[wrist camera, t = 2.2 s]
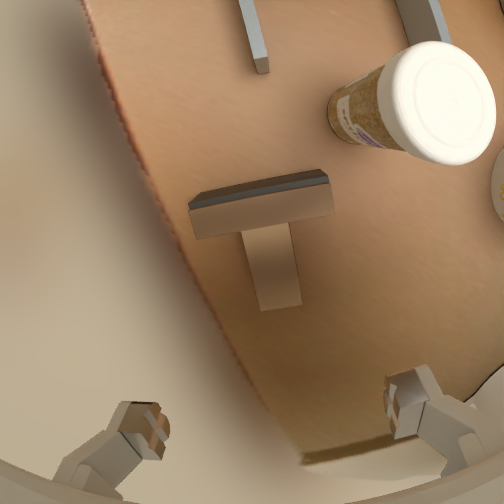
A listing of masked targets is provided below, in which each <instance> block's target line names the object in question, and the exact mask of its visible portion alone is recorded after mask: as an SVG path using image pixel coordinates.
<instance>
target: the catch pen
mask: <svg viewBox="0 0 504 504" xmlns="http://www.w3.org/2000/svg"><path fill="white" fill-rule="evenodd" d="M395 1H396V4H397V7H398V10H399V13H400V16H401V19H402V22H403V25H404V28H405V32H406V35H407V38H408V42H409V45H410V47H411V46H413V45H415V44H418V43H421V42H426V41H440V42H445V43H448V44H451V45H452V42H451V38H450V35H449V32H448V28H447V25H446V22H445V19H444V16H443V13H442V10H441V7H440V5H439V2H438V0H395ZM239 4H240V8H241V11H242V15H243V19H244V22H245V26H246V30H247V34H248V38H249V42H250V46H251V50H252V54H253V58H254V61H255V64H256V68H257V71H258V74H263V73H268V72H269V61H268V54H267V50H266V47H265V43H264V39H263V35H262V31H261V28H260V24H259V20H258V17H257V13H256V9H255V6H254V2H253V0H239Z"/></svg>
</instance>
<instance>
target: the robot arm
mask: <svg viewBox="0 0 504 504" xmlns="http://www.w3.org/2000/svg"><path fill="white" fill-rule="evenodd" d="M384 383H385V386H386V389H385V390H384V396H383V399H384V407H385V411H386V415H387V416H388V417H390V418H391V420H390V428H391V431H392V434H393V437H394V439H398V438H402V437H406V436H410V435H414V434H417V435H418V436H419V437H421V438H422V439H423V440H424V441H426V442H427V443H428V444H429V445H431V446H432V447H433V448H434V449H436V450H437V451H438V452H440V453H441V454H442V455H443V456H445V457H446V458H447V459H448V462H447V464H446V466H445V468H444V469H443V471H442V473H441V478H439V479H437V480H434V481H431V482H428V483H425V484H422V485H419V486H416V487H413V488H409V489H406V490H402V491H399V492H395V493H392V494H387V495H384V496H380V497H375V498H371V499H367V500H362V501H357V502H352V503H346V504H504V366H503V367H501V368H500V369H499V370H498V371H497V372H496V373H494V374H493V375H492V376H491V377H490V378H489V379H488V380H487V381H486V382H485V383H484V385H483V386H482V387H481V388H480V389H479V390H478V391H477V393H476V394H475V395H474V396H473V397H471V398H470V399H469V400H467V401H466V402H465V403H463V402H461V401H459V400H457V399H455V398H453V397H452V396H450V395H448V394H447V395H443V393H442V391H441V389H440V387H439V385H438V383H437V381H436V379H435V377H434V376H433V374H432V372H431V370H430V368H429V366H428V365H426V364H424V365H421V366H418V367H414V368H410V369H407V370H403V371H399V372H396V373H392V374H388V375H386V376H385V382H384ZM160 411H161V407H160V406H159V404H158V403H156V402H137V401H121V402H120V403H119V405H118V406H117V408H116V410H115V412H114V414H113V417H112V419H111V421H110V423H109V425H108V427H107V429H106V430H103V431H101V432H100V433H98V434H97V435H95V436H94V437H93V438H91V439H90V440H89V441H87V442H86V443H84V444H83V445H82V446H80V447H79V448H77V449H76V450H74V451H73V452H72V453H70V454H69V455H67V456H66V457H64V458H63V460H62V462H61V464H60V466H59V468H58V470H57V472H56V474H55V476H54V478H53V480H49V479H46V478H43V477H41V476H38V475H36V474H33V473H31V472H28V471H26V470H24V469H21V468H19V467H16V466H14V465H12V464H10V463H8V462H6V461H4V460H1V459H0V504H139V503H133V502H128V501H123V497H122V495H121V494H119V493H118V492H117V491H116V490H115V488H116V487H117V486H118V485H119V484H120V483H121V482H122V481H123V480H124V479H125V478H126V477H127V476H128V474H130V472H132V471H133V470H134V469H135V467H137V465H138V464H139V463H140V462H141V461H142V459H146V460H147V459H148V460H162V457H163V454H164V451H165V448H166V447H165V445H164V443H163V442H165V441H166V440H167V439H168V438H169V434H170V424H169V421H168V419H167V417H166V416H165V415H164V414H162V413H160Z"/></svg>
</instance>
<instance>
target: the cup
mask: <svg viewBox="0 0 504 504" xmlns="http://www.w3.org/2000/svg"><path fill="white" fill-rule="evenodd" d="M491 196H492V202H493V205H494V208H495V210H496V212H497V214H498V216H499V217H500V218H501V220H502V221H504V147H503V149H502V150H501V151H500V153H499V154H498V156H497V158H496V160H495V163H494V166H493V170H492V175H491Z"/></svg>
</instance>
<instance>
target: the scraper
mask: <svg viewBox="0 0 504 504" xmlns="http://www.w3.org/2000/svg"><path fill="white" fill-rule="evenodd" d="M188 204H189V208H190V210H189V211H188V212H189V216H190V219H191V223H192V226H193V230H194V233H195V237H196V240H199V239H204V238H210V237H215V236H220V235H225V234H230V233H236V232H241V234H242V238H243V242H244V246H245V250H246V254H247V259H248V263H249V267H250V271H251V275H252V279H253V283H254V288H255V292H256V296H257V300H258V304H259V308H260V312H261V311H268V310H274V309H281V308H287V307H293V306H299V305H303V304H302V297H301V289H300V282H299V276H298V270H297V264H296V259H295V253H294V247H293V242H292V237H291V231H290V226H289V222H295V221H300V220H306V219H312V218H317V217H323V216H329V215H334V214H335V211H334V204H333V198H332V191H331V185H330V183H329V179H328V175H326V174H325V173H324V172H323V171H322V170H321V169H318V170H312V171H306V172H300V173H295V174H289V175H284V176H279V177H273V178H268V179H263V180H258V181H253V182H248V183H243V184H239V185H234V186H229V187H225V188H220V189H216V190H211V191H207V192H202V193H200V194H199V195H198V196H196V197H195V198H194V199H193V200H192V201H191V202H189V203H188Z"/></svg>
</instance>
